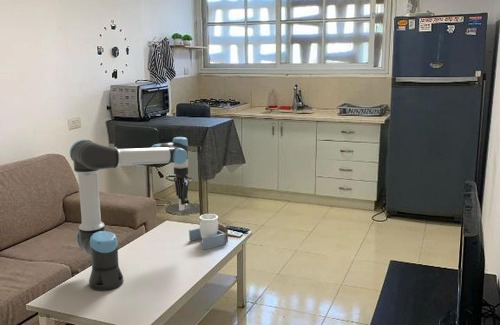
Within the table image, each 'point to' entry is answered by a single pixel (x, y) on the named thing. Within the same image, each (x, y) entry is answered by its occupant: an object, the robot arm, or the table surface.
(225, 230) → the block
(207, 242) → the grey shallow box
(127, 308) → the table surface
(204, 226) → the jar
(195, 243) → the table surface
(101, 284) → the robot arm
